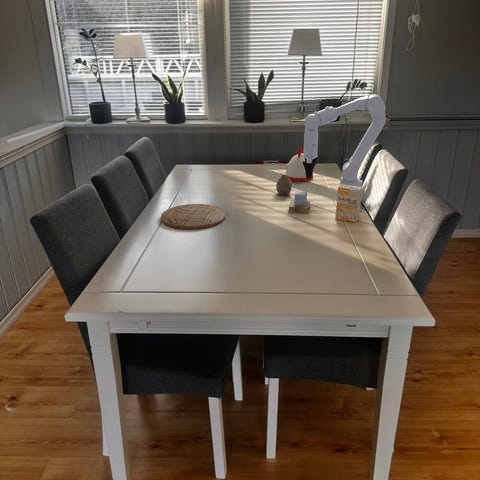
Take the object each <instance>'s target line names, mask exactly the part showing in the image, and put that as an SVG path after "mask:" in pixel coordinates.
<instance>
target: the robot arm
mask: <svg viewBox="0 0 480 480" xmlns="http://www.w3.org/2000/svg"><path fill="white" fill-rule="evenodd" d="M356 110H358V111H359V110H360V111H364V112H365V111H366V110H367V111H368V113H369V114H370V116H371V120H372V122H371V124H370V125H369V127H368V128H367V130H366V132H365V134H364V135H363V137H362V139H361V141H360V142H359V144H358V145H357V147H356V149H355V150H354V152H353V154H352V155H351V157H350V158H349V159H348V161H346V162H345V163H344V164H343V166H342V168H341V169H342V170H341V171H342V172H341V177H340V180H339V181H340V182H339V186H340V185H341V184H344V185H351V186H357V187H362V188H363V180H362V179H359V177H358V173H359V170H360V168H361V166H362V163H363V161H364V159H365V158H366V156H367V155H368V152H370V149H372V146H373V145H374V143H375V141H376V139H377V138H378V136H379V135H380V133H381V131H382V130H383V128H384V127H385V125H386V121H387V120H386V117H387V116H386V105H385V103H384V100H383V99H382V97H381V95H379V94H378V93H373V94H369V96H368V95H366V96H362V97H359V98H356V99H354V100H352V101H349V102H347V103H345V104H343V105H340V106H338V107H334V106H325V107H324V109H322V110H319V111H314V112H313V113H310V114H308V115H307V116H306V117H305V119H304V123H303V124H304V132H303V133H304V135H303V153H302V154H301V156H303V157H304V159H305V161H303V165H304V168H305V173H306V178H312V174H313V175H314V169H315V167H316V165H317V162H316V161H317V159H318V145H319V126H321V127H322V126H324V125H327V124H330V123H331V122H334V121H336V120H337V119H338V117H339V116H341V115H345V114H347V113H350V112H354V111H356ZM312 179H313V178H312ZM361 198H363V193H362V194H361Z"/></svg>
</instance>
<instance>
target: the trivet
mask: <svg viewBox="0 0 480 480" xmlns="http://www.w3.org/2000/svg"><path fill="white" fill-rule="evenodd" d="M160 216H161V217H160V221H161V223H162V225H164V226H165V227H167V228H169V229H170V228H171V229H174V230H181V231H198V230H203V229H208V228H209V229H210V228H213V227H215V226H218V225H219V224H222V223H223V222H224V221H225V219H226V212H225V210H224V209H222V207H219V206H217V205H213V204H207V203H186V204H182V205H181V204H180V205H177V206H176V205H175V206H172V207H170V208H168V209H165V211H163V212H162V213H161V215H160Z"/></svg>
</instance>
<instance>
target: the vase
mask: <svg viewBox="0 0 480 480" xmlns="http://www.w3.org/2000/svg"><path fill="white" fill-rule="evenodd" d="M291 181H292V180H289V178H288V177H287V175H286V174H281V175H280V177H279V179H278V180H277V181H276V184H275V188H276V192H277V194H278V195H280V196H289V194H290V193H291V192H292V189H293V188H292V187H293V185H292V182H291Z"/></svg>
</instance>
